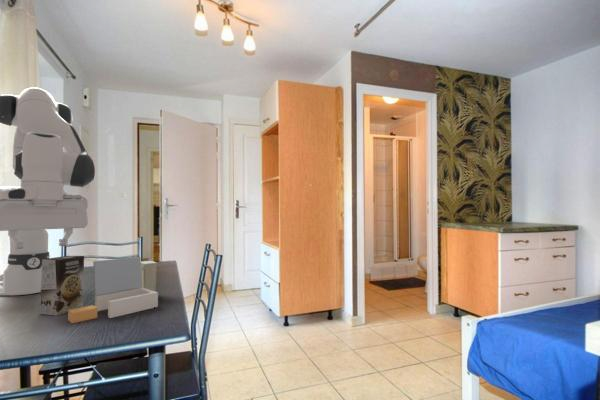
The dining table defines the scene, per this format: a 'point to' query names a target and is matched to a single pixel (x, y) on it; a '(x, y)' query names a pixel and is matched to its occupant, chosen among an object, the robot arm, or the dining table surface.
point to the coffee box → (61, 284)
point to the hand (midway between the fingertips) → (41, 247)
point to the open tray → (126, 301)
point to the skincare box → (149, 275)
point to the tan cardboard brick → (82, 314)
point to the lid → (117, 275)
